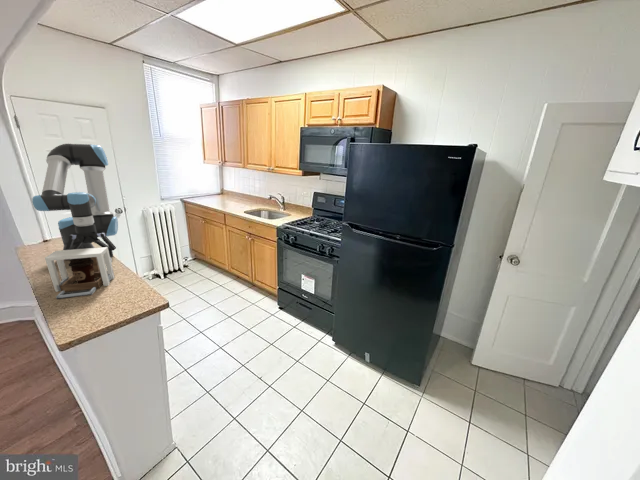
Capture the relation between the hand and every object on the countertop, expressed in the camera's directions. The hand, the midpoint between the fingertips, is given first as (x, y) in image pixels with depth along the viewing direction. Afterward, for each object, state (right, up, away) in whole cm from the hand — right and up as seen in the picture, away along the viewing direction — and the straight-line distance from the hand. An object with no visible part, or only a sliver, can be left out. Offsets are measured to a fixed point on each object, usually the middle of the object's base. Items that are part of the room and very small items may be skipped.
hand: (94, 264), depth 134 cm
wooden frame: (+3, -7, -6) cm, 10 cm away
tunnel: (+4, -9, -9) cm, 13 cm away
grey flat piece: (+8, -12, -18) cm, 23 cm away
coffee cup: (+4, -9, -9) cm, 13 cm away
